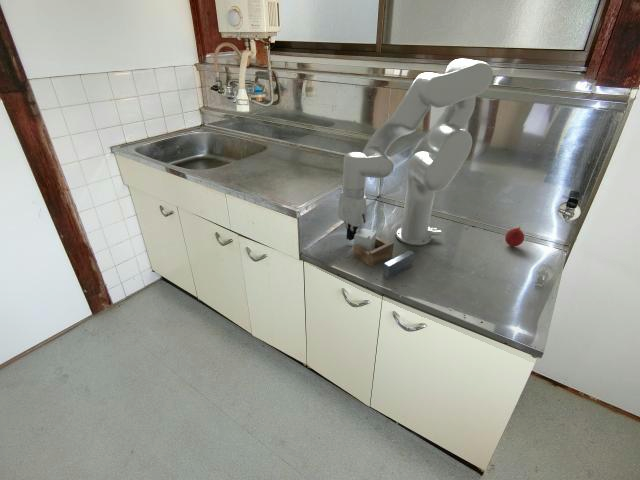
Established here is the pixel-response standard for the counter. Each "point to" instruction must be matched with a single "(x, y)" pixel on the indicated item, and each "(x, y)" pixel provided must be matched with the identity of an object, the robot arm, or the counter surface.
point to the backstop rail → (398, 264)
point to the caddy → (374, 252)
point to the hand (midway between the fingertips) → (351, 238)
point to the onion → (514, 237)
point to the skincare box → (365, 239)
